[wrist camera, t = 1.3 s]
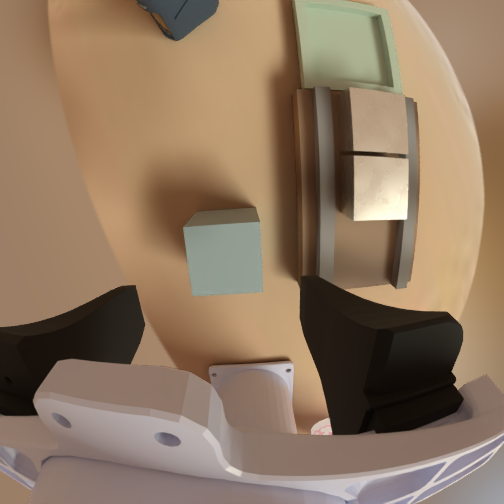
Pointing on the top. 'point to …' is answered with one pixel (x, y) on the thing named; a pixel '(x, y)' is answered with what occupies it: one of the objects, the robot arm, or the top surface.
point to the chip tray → (345, 46)
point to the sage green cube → (224, 252)
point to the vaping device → (179, 14)
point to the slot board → (329, 203)
